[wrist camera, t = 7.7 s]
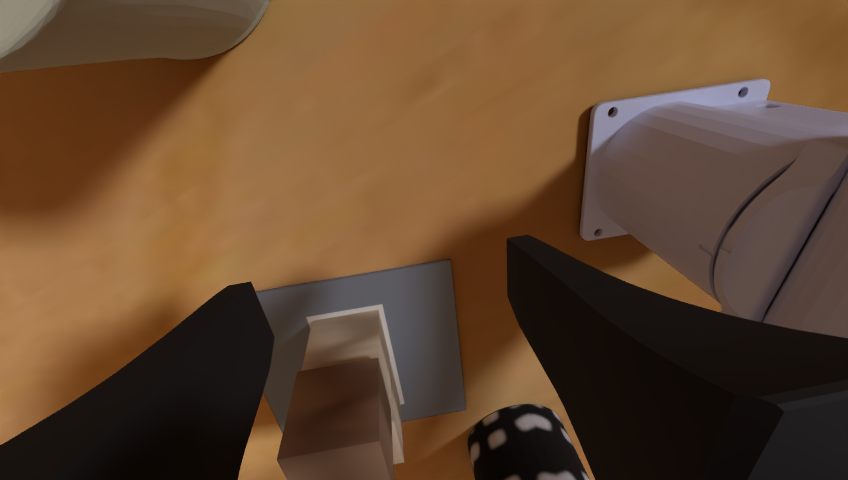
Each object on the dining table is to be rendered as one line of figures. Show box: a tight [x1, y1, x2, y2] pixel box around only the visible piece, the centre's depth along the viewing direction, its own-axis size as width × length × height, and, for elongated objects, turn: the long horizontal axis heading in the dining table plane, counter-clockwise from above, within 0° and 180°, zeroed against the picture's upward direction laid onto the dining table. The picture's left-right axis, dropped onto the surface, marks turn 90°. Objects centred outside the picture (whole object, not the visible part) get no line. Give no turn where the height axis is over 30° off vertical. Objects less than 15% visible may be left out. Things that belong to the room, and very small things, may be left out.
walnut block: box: [277, 358, 394, 480], centre depth 18 cm, size 4×4×5 cm
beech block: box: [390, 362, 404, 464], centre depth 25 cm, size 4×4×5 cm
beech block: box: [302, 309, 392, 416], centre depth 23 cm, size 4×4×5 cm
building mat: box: [256, 259, 466, 432], centre depth 26 cm, size 14×14×1 cm
